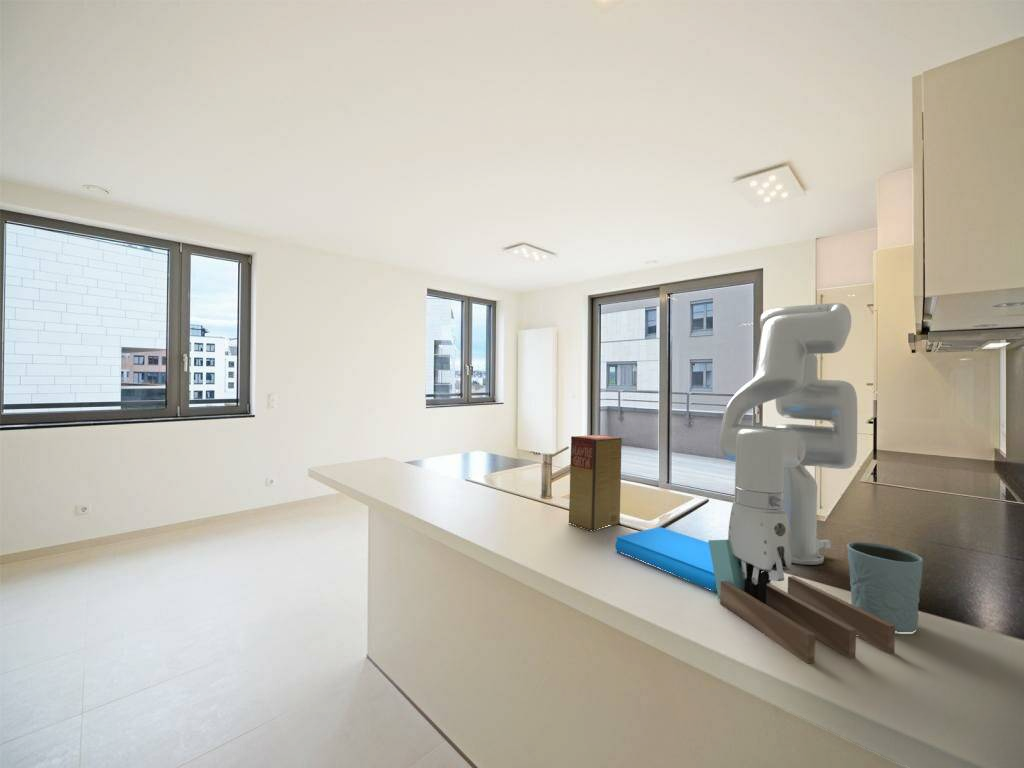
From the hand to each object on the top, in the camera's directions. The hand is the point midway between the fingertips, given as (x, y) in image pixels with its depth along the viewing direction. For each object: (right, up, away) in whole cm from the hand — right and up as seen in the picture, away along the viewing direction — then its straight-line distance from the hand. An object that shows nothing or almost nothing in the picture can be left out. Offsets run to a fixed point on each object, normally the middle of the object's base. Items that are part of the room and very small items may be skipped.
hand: (754, 603), depth 78 cm
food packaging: (-19, -2, +49) cm, 53 cm away
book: (-4, -2, +22) cm, 22 cm away
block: (-1, -1, +3) cm, 4 cm away
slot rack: (+5, -2, -4) cm, 7 cm away
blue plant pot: (+21, -2, -2) cm, 21 cm away
